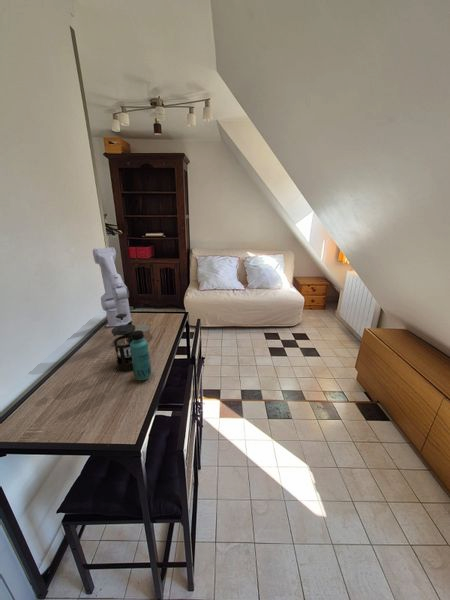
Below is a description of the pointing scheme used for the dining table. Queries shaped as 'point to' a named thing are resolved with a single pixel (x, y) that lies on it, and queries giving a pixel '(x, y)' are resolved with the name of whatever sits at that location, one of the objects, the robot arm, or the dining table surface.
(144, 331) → the pot
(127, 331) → the french press
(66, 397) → the dining table surface
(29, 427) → the dining table surface
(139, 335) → the beverage bottle
